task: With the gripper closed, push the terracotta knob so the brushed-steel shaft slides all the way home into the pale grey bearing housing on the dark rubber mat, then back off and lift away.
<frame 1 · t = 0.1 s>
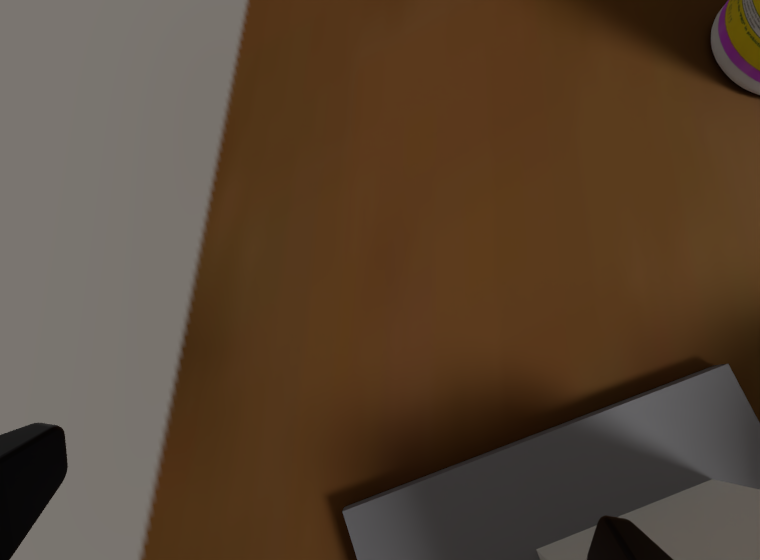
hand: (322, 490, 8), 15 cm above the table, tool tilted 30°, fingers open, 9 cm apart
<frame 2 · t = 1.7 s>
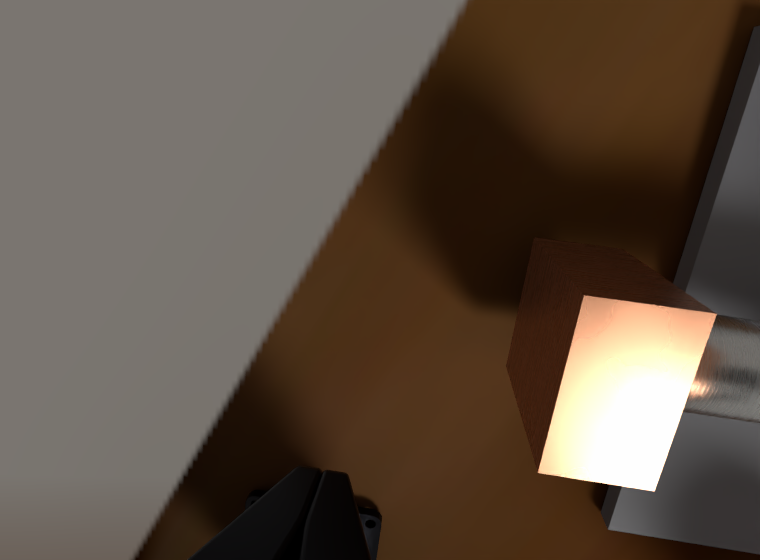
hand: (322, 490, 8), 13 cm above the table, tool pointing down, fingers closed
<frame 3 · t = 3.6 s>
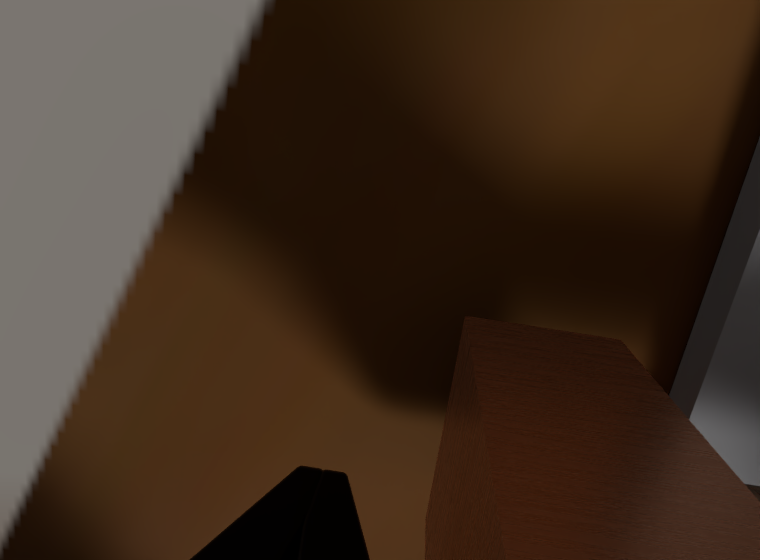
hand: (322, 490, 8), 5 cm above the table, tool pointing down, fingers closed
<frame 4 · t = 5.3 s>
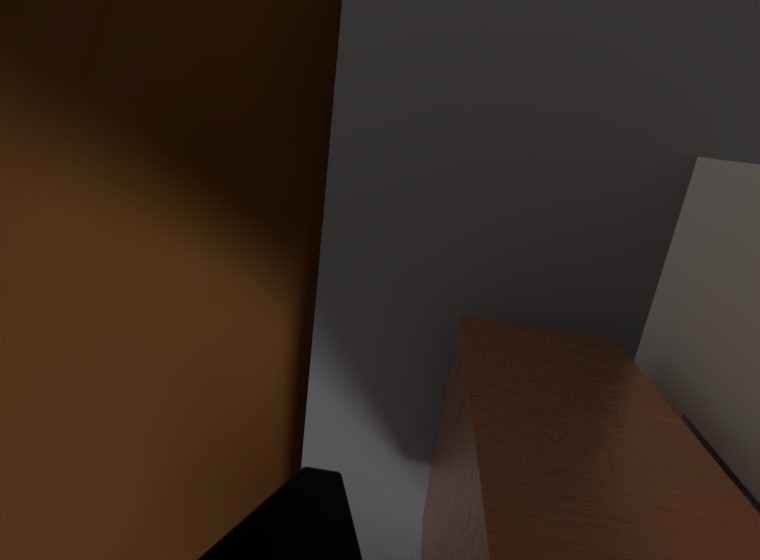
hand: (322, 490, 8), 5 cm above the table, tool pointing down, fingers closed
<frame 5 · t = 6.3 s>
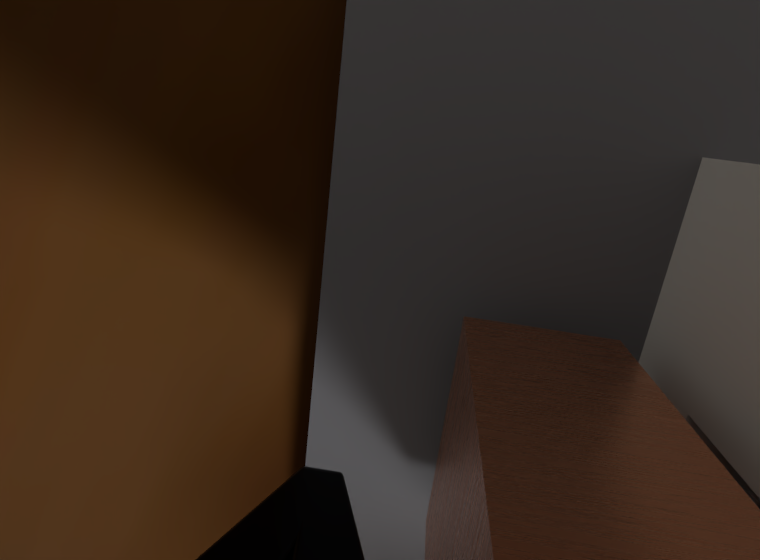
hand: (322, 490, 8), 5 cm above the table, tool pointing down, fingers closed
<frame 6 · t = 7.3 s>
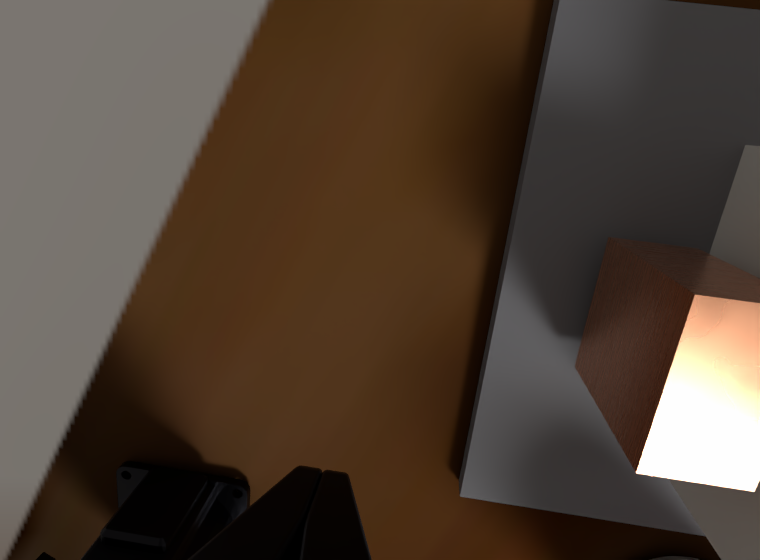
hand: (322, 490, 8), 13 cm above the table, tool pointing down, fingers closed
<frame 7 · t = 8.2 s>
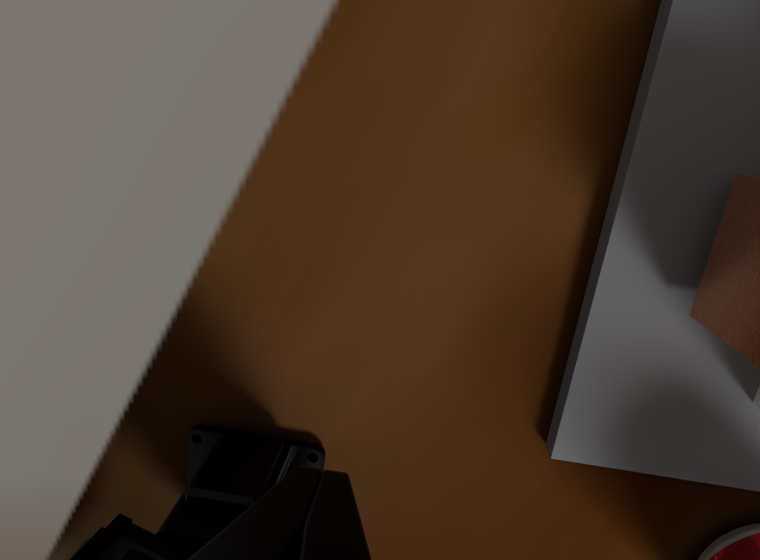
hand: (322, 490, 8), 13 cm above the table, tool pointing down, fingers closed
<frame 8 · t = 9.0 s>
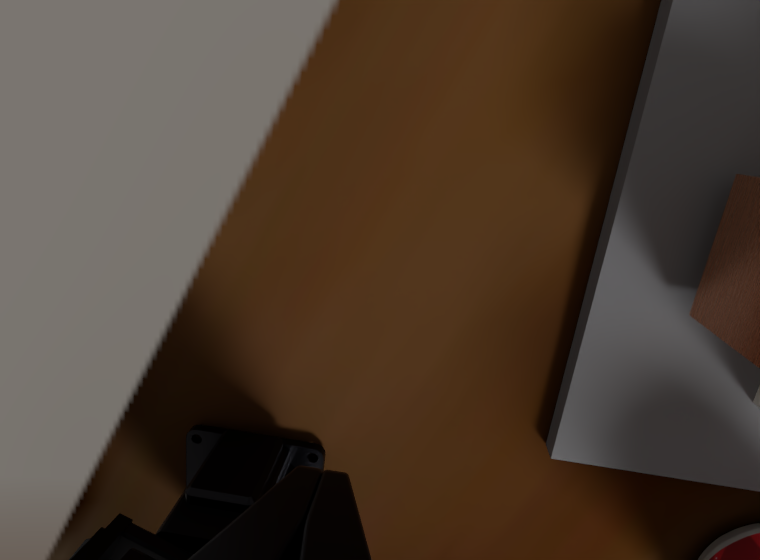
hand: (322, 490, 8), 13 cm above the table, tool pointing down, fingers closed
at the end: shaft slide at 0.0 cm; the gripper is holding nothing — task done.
